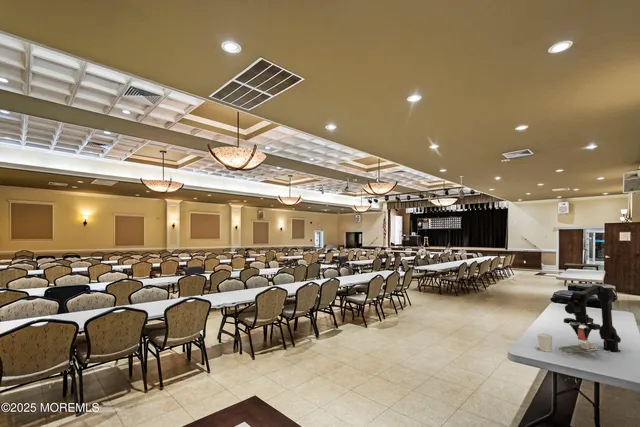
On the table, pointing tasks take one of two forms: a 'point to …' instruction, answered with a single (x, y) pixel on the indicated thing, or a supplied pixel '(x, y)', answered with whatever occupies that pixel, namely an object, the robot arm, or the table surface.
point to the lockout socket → (570, 348)
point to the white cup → (545, 342)
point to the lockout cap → (581, 334)
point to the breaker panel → (583, 348)
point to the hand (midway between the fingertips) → (582, 337)
